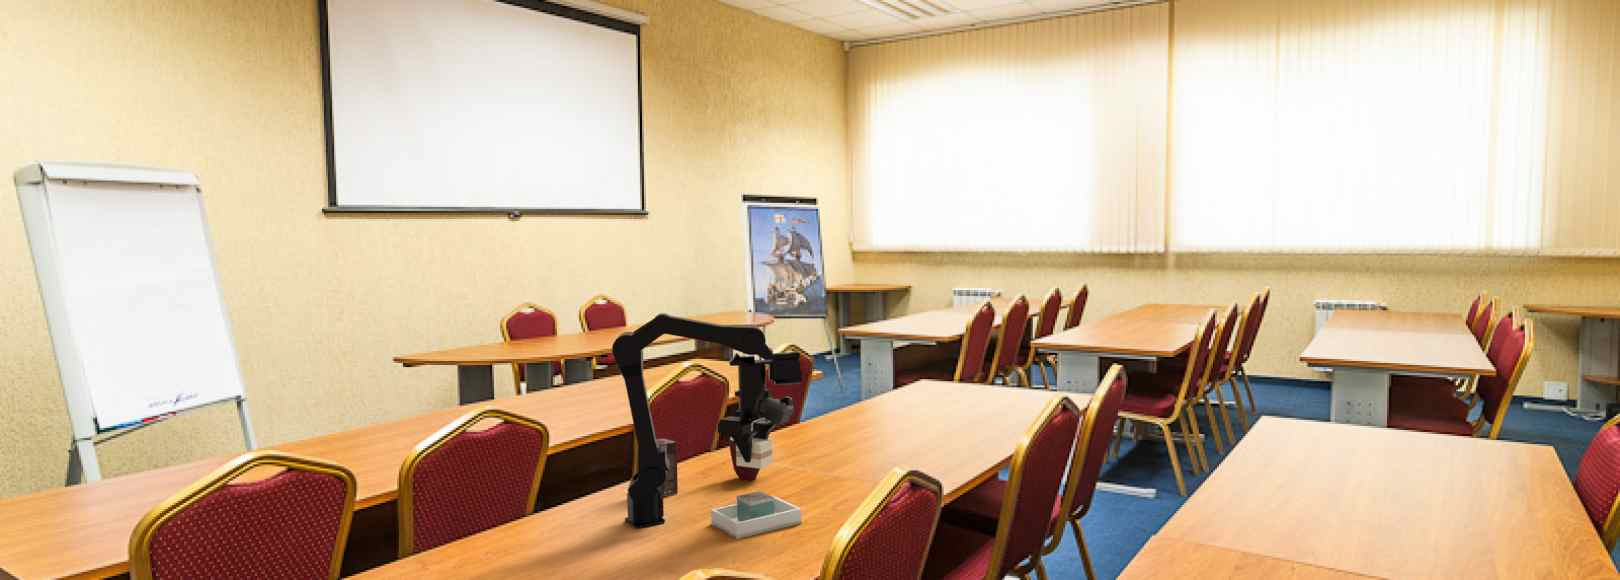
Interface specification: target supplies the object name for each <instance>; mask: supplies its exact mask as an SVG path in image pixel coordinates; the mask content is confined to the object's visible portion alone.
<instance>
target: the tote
mask: <svg viewBox="0 0 1620 580" xmlns="http://www.w3.org/2000/svg"><path fill="white" fill-rule="evenodd" d="M771 496H772V497H774V498H775V500H774V514H772V515H768V516H763V517H759V518H754V519H750V520H746V521H739V520H738V517H737V503H735V504H731V505H725V506H722V507H715V508H711V509H710V520H711V521H710V523H711V524H710V525H712V526H714V527H716V528H718V529H720V530H722V531H723V532H725V533H727V534H728V535H730V536H732V537H734V538H735V539H737V540H738V539H742V538H746V537H750V536H754V535H758V534H763V533H768V532H771V531H776V530H779V529H783V528H784V529H785V528H788V527H791V526H797V525H800V524H803V523H802V522H803V520H802V519H803V517H802V515H803V513H802V511H803V510H802V508H800V507H798V506H796V505H794V504H792V503H789V502H788V501H785V500H784V499H781V498H778V497H776V496H774V495H771Z"/></svg>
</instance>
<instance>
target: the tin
mask: <svg viewBox="0 0 1620 580" xmlns="http://www.w3.org/2000/svg"><path fill="white" fill-rule="evenodd" d="M772 496H773V495H770V494H768V493H766V492H763V491H762V490H758V491H754V492H753V491H752V492H749V493H744V494H739V495H736V496H735V499H736V504H737V517H738V520H739V521H746V520H750V519H754V518H759V517H763V516H768V515H772V514H774V500H775V498H774V497H775V496H774V497H772Z"/></svg>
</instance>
